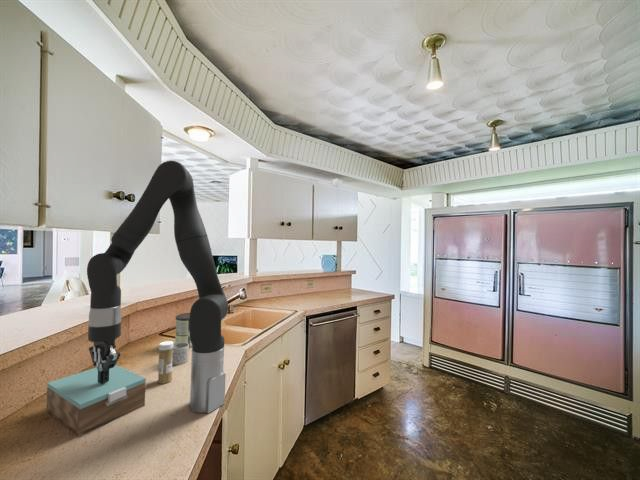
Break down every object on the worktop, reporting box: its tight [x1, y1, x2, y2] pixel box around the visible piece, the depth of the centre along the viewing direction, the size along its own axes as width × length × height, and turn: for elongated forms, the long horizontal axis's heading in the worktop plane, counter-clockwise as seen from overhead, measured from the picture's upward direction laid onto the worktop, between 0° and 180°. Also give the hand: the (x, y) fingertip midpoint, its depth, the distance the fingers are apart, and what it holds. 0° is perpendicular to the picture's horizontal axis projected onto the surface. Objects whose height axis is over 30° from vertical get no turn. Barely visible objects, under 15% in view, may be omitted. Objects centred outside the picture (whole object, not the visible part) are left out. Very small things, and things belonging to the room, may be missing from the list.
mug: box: [172, 343, 190, 366], centre depth 113 cm, size 10×7×7 cm
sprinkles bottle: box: [157, 340, 174, 385], centre depth 99 cm, size 5×5×14 cm
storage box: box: [46, 382, 146, 438], centre depth 82 cm, size 21×16×7 cm
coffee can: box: [174, 312, 192, 349], centre depth 133 cm, size 10×10×14 cm
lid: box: [46, 364, 147, 409], centre depth 82 cm, size 21×16×2 cm
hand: (103, 382), depth 80 cm, fingers closed
